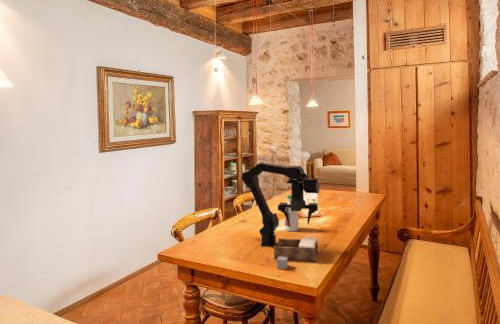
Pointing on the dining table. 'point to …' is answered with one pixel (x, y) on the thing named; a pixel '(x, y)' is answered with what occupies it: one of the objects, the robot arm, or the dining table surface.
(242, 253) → the dining table surface
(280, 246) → the box
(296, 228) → the milk bottle
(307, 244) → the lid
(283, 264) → the block
